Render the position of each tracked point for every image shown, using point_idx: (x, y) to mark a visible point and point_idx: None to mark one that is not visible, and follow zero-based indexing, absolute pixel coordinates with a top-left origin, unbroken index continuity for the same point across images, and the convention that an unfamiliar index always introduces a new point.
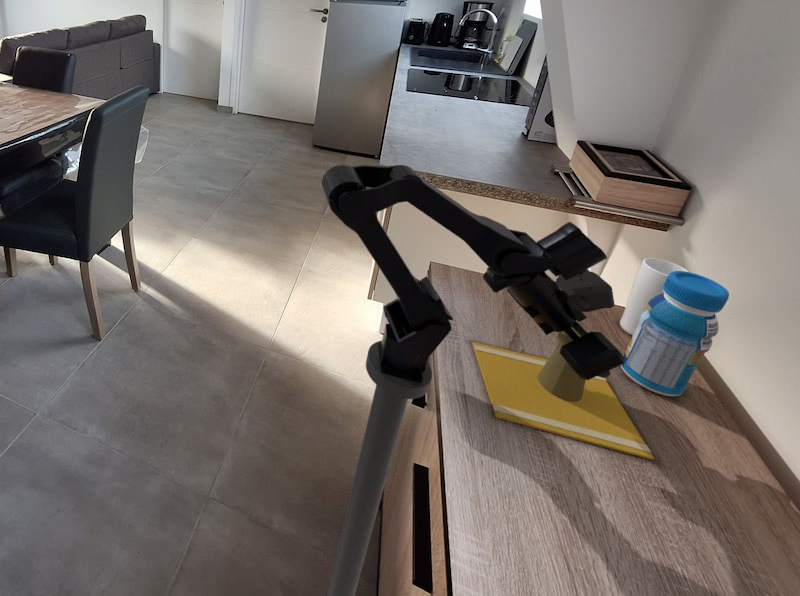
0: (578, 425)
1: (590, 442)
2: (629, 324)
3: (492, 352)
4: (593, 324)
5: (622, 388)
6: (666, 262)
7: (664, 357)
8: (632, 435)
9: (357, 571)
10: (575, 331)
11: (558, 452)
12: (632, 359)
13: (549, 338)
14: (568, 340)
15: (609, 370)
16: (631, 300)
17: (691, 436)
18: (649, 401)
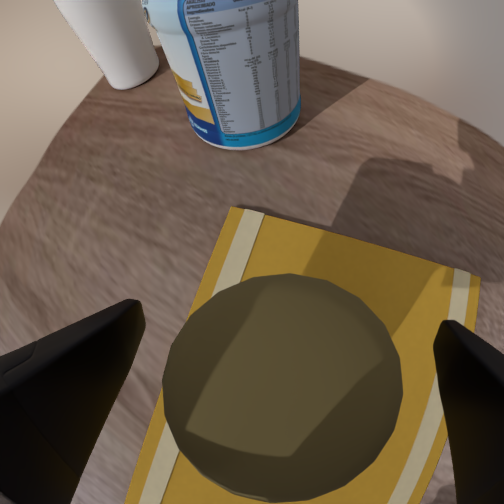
0: (419, 410)
1: None
2: (125, 74)
3: (160, 489)
4: (100, 129)
5: (280, 187)
6: None
7: (278, 53)
8: (434, 281)
9: None
10: (246, 428)
11: None
12: (228, 117)
13: (108, 258)
14: (308, 498)
15: (490, 346)
16: (91, 41)
17: (397, 148)
18: (315, 156)
